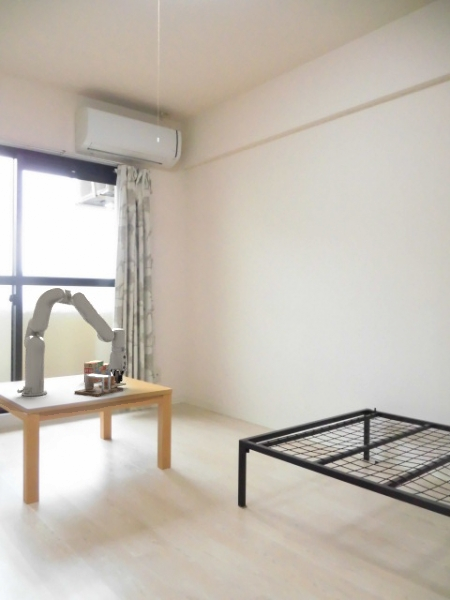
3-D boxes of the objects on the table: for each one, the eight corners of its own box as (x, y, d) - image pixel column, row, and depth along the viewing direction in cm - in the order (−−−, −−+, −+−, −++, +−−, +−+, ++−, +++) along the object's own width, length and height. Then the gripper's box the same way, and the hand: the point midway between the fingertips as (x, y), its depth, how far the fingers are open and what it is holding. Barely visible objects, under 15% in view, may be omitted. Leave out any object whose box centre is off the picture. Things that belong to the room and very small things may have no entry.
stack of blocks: (102, 377, 312) (102, 358, 312) (111, 377, 310) (111, 358, 310) (83, 382, 291) (83, 362, 291) (92, 383, 289) (92, 363, 289)
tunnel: (102, 391, 255) (103, 377, 255) (84, 389, 261) (84, 375, 261) (110, 390, 260) (110, 375, 260) (92, 387, 266) (92, 373, 266)
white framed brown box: (111, 388, 264) (111, 374, 264) (98, 386, 268) (98, 372, 268) (126, 384, 275) (126, 371, 275) (113, 383, 279) (114, 369, 279)
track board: (97, 397, 249) (97, 394, 249) (74, 393, 256) (74, 391, 256) (123, 390, 268) (123, 387, 268) (101, 387, 275) (101, 385, 275)
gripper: (133, 350, 275) (133, 381, 275) (111, 348, 283) (111, 379, 283) (125, 351, 268) (124, 383, 269) (102, 349, 276) (102, 381, 276)
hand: (117, 381), depth 276 cm, fingers closed on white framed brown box, 3 cm apart
